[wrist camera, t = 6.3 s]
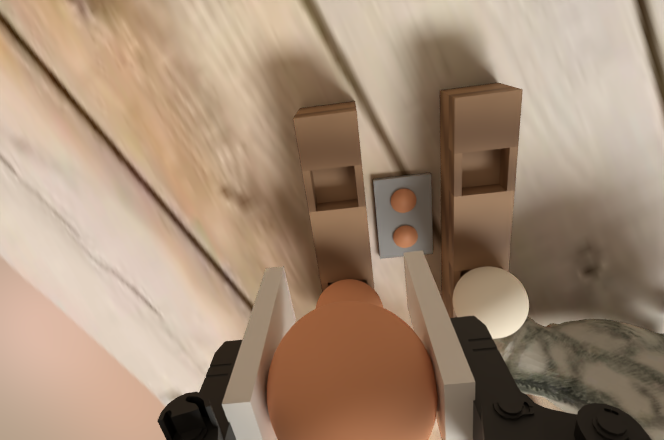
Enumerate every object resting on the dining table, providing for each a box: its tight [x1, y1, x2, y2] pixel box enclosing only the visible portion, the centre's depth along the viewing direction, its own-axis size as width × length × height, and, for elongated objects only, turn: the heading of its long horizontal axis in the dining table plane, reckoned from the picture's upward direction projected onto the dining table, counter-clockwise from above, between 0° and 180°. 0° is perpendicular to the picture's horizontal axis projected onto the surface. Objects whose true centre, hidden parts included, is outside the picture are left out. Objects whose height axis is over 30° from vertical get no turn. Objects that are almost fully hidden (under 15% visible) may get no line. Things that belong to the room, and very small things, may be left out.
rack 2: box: [440, 83, 522, 318], centre depth 29 cm, size 19×4×4 cm, turn 7°
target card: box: [373, 173, 433, 259], centre depth 31 cm, size 7×4×1 cm, turn 7°
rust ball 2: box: [267, 301, 438, 440], centre depth 11 cm, size 5×5×5 cm
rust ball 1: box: [316, 279, 383, 309], centre depth 28 cm, size 5×5×5 cm
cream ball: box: [453, 266, 529, 339], centre depth 27 cm, size 5×5×5 cm
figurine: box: [492, 316, 664, 440], centre depth 28 cm, size 10×19×20 cm
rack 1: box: [293, 101, 374, 292], centre depth 30 cm, size 19×4×4 cm, turn 7°
